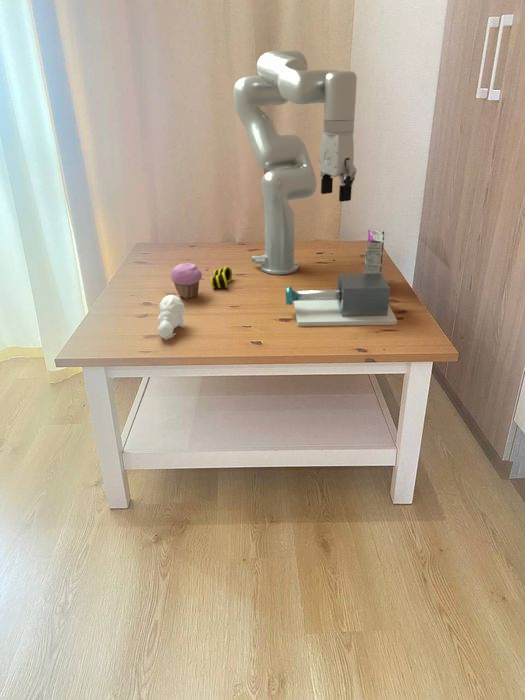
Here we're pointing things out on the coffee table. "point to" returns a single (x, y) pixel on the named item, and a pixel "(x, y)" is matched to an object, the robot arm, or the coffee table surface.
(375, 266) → the candy bar box
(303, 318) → the mounting board
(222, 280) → the opera glasses
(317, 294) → the steel shaft
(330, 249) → the coffee table surface
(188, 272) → the cupcake
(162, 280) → the coffee table surface
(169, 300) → the white figurine
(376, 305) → the shaft housing
